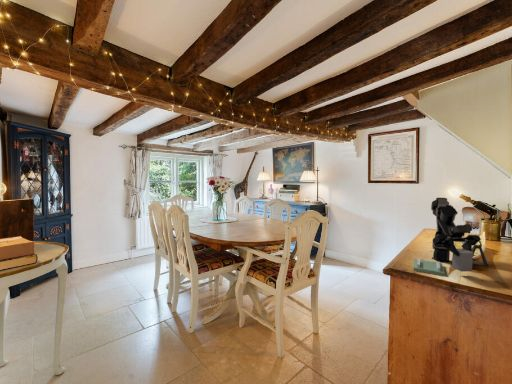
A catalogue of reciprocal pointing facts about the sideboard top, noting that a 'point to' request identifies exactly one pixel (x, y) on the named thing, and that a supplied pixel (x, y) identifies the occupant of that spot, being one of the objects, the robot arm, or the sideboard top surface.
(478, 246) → the dark a-frame stand
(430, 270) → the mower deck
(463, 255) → the chute block
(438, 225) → the robot arm
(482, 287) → the sideboard top surface
